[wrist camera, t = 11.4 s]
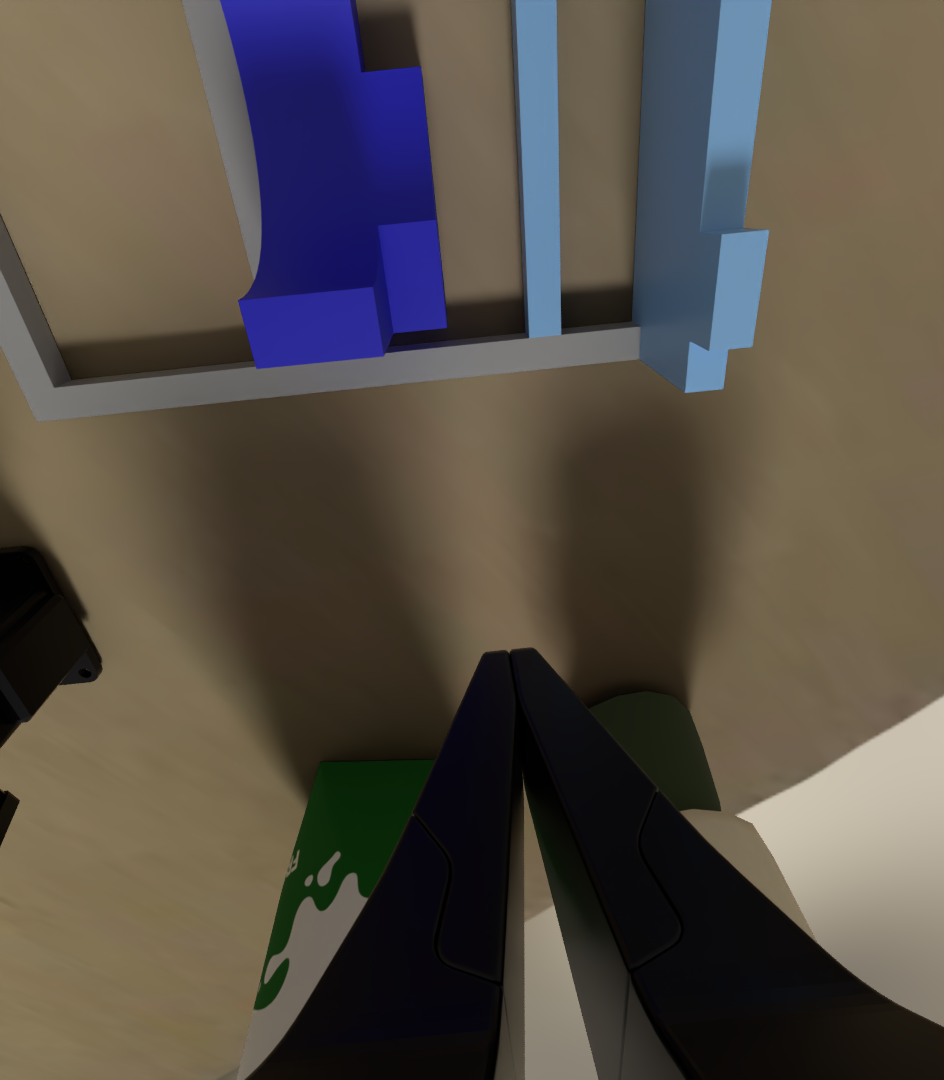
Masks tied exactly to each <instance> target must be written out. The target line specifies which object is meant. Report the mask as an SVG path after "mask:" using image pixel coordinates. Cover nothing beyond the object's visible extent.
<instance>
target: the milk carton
mask: <svg viewBox="0 0 944 1080" xmlns="http://www.w3.org/2000/svg"><path fill="white" fill-rule="evenodd" d="M434 761H435V759H430V760H389V761H347V762H320V764H319V767H318V771H317V774H316V778H315V781H314V784H313V788H312V791H311V794H310V798H309V801H308V804H307V808H306V811H305V814H304V818H303V821H302V824H301V828H300V831H299V834H298V837H297V841H296V844H295V847H294V851H293V854H292V857H291V861H290V864H289V867H288V871H287V874H286V877H285V881H284V885H283V888H282V892H281V896H280V900H279V904H278V908H277V913H276V917H275V921H274V925H273V929H272V934H271V938H270V942H269V946H268V950H267V955H266V959H265V963H264V967H263V971H262V976H261V980H260V984H259V988H258V992H257V997H256V1001H255V1005H254V1009H253V1013H252V1018H251V1022H250V1026H249V1030H248V1034H247V1039H246V1043H245V1047H244V1051H243V1055H242V1060H241V1064H240V1068H239V1072H238V1076H237V1080H244V1079H246V1078H247V1077H248V1076H249V1075H250V1074H251V1073H252V1072H253V1071H254V1070H255V1069H256V1068H257V1067H258V1066H259V1065H260V1064H261V1063H262V1062H263V1061H264V1059H265V1058H266V1057H267V1056H268V1055H269V1054H270V1053H271V1052H272V1050H273V1049H274V1048H275V1047H276V1045H277V1044H278V1043H279V1042H280V1040H281V1039H282V1038H283V1036H284V1035H285V1033H286V1032H287V1031H288V1029H289V1028H290V1026H291V1025H292V1024H293V1022H294V1021H295V1019H296V1017H297V1016H298V1014H299V1013H300V1011H301V1009H302V1008H303V1006H304V1005H305V1003H306V1001H307V1000H308V998H309V996H310V995H311V993H312V991H313V990H314V988H315V987H316V985H317V983H318V982H319V980H320V978H321V977H322V975H323V973H324V972H325V970H326V968H327V967H328V965H329V963H330V962H331V960H332V958H333V957H334V955H335V953H336V952H337V950H338V948H339V947H340V945H341V943H342V942H343V940H344V938H345V937H346V935H347V933H348V932H349V930H350V928H351V927H352V925H353V923H354V922H355V920H356V918H357V917H358V915H359V914H360V912H361V910H362V908H363V907H364V905H365V903H366V901H367V900H368V898H369V896H370V894H371V893H372V891H373V889H374V887H375V886H376V884H377V882H378V880H379V878H380V877H381V875H382V873H383V871H384V869H385V867H386V865H387V863H388V861H389V859H390V857H391V855H392V853H393V851H394V849H395V847H396V845H397V843H398V841H399V839H400V836H401V834H402V832H403V830H404V827H405V825H406V823H407V821H408V819H409V817H410V816H412V810H413V808H414V806H415V804H416V801H417V799H418V797H419V795H420V792H421V790H422V788H423V786H424V784H425V781H426V779H427V777H428V775H429V772H430V770H431V768H432V766H433V764H434Z"/></svg>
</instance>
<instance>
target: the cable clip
mask: <svg viewBox="0 0 944 1080" xmlns="http://www.w3.org/2000/svg"><path fill="white" fill-rule="evenodd" d="M220 3H221V6H222V9H223V13H224V16H225V20H226V24H227V27H228V31H229V35H230V38H231V42H232V46H233V50H234V54H235V58H236V62H237V66H238V70H239V74H240V78H241V83H242V87H243V92H244V96H245V101H246V106H247V111H248V116H249V121H250V126H251V132H252V137H253V143H254V150H255V156H256V163H257V171H258V179H259V189H260V200H261V231H262V234H261V251H260V259H259V265H258V270H257V274H256V277H255V280H254V283H253V285H252V287H251V288H250V290H249V292H248V293H247V294H246V295H245V296H244V297H243V298H241V299H240V300H238V302H239V306H240V310H241V314H242V317H243V321H244V325H245V328H246V332H247V336H248V340H249V343H250V347H251V351H252V354H253V358H254V362H255V366H256V369H263V368H273V367H283V366H293V365H303V364H313V363H323V362H333V361H344V360H354V359H364V358H374V357H384V355H385V353H386V350H387V348H388V345H389V343H390V341H391V338H392V336H393V334H394V333H402V332H412V331H422V330H432V329H442V328H447V311H446V302H445V292H444V282H443V272H442V263H441V253H440V243H439V234H438V224H437V214H436V205H435V195H434V185H433V175H432V166H431V156H430V146H429V137H428V127H427V117H426V107H425V98H424V88H423V78H422V72H421V66H420V67H410V68H400V69H391V70H381V71H371V72H366V71H365V64H364V57H363V50H362V43H361V36H360V29H359V22H358V15H357V8H356V0H220Z"/></svg>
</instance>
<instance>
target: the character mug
mask: <svg viewBox="0 0 944 1080" xmlns="http://www.w3.org/2000/svg"><path fill="white" fill-rule="evenodd" d="M589 710H590V711H591V712H592V713H593V714H594V716H595V717H596V718H597V719H598V720H599V721H600V722H601V723H602V725H603V726H604V727H605V728H606V729H607V730H608V731H609V733H610V734H611V735H612V736H613V737H614V738H615V739H616V740H617V742H618V743H619V744H620V745H621V746H622V747H623V748H624V749H625V751H626V752H627V753H628V754H629V755H630V756H631V757H632V758H633V760H634V761H635V762H636V763H637V764H638V765H639V766H640V767H641V769H642V770H643V771H644V772H645V773H646V774H647V775H648V777H649V778H650V779H651V780H652V781H653V782H654V783H655V784H656V786H657V787H658V791H662V792H663V793H664V794H665V795H666V797H667V798H668V799H669V800H670V801H671V802H672V803H673V804H674V806H675V807H676V808H677V809H678V810H679V811H680V812H681V813H682V815H683V816H684V817H685V818H686V819H687V820H688V821H689V822H690V823H691V824H692V825H693V826H694V827H695V828H696V829H697V830H698V832H699V833H700V834H701V835H702V836H703V837H704V838H705V839H706V840H707V841H708V842H709V843H710V844H711V845H712V846H713V847H714V848H715V849H716V850H717V851H718V852H719V853H720V854H722V855H723V856H724V857H725V858H726V859H727V860H728V861H729V862H730V863H731V864H732V865H733V866H734V867H735V868H736V869H737V870H738V871H739V872H740V873H741V874H743V875H744V876H745V877H746V878H747V879H748V880H749V881H750V882H751V883H752V884H753V885H755V886H756V887H757V888H758V889H759V890H760V891H761V892H762V893H763V894H764V895H765V896H767V897H768V898H769V899H770V900H771V901H772V902H773V903H774V904H775V905H776V906H777V907H779V908H780V909H781V910H782V911H783V912H784V913H785V914H786V915H787V916H788V917H789V918H791V919H792V920H793V921H794V922H795V923H796V924H797V925H798V926H799V927H800V928H801V929H803V930H804V931H805V932H806V933H807V934H808V935H809V936H810V937H811V938H812V939H813V940H815V941H816V939H815V937H814V935H813V933H812V931H811V929H810V928H809V925H808V924H807V921H806V920H805V918H804V916H803V914H802V912H801V910H800V908H799V906H798V904H797V902H796V900H795V898H794V896H793V894H792V892H791V890H790V888H789V887H788V885H787V883H786V881H785V879H784V877H783V875H782V873H781V871H780V869H779V867H778V865H777V863H776V861H775V859H774V857H773V856H772V854H771V852H770V851H769V849H768V848H767V846H766V845H765V843H764V841H763V840H762V838H761V837H760V835H759V834H758V832H757V830H756V829H755V827H754V826H753V824H752V823H749V822H747V821H745V820H743V819H741V818H739V817H737V816H734V815H732V814H730V813H728V812H721V807H720V801H719V798H718V795H717V791H716V788H715V785H714V782H713V778H712V775H711V772H710V769H709V765H708V762H707V759H706V756H705V752H704V749H703V746H702V743H701V740H700V738H699V735H698V732H697V730H696V727H695V724H694V722H693V719H692V716H691V714H690V711H689V710H688V709H686V708H685V707H684V706H683V705H682V704H681V703H680V702H679V701H678V700H677V699H676V698H674V697H673V696H670V695H665V694H660V693H655V692H650V691H644V692H638V693H632V694H626V695H620V696H616V697H614V698H611V699H609V700H607V701H605V702H602V703H600V704H598V705H596V706H593V707H591V708H589ZM816 942H817V941H816Z"/></svg>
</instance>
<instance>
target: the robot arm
mask: <svg viewBox="0 0 944 1080" xmlns="http://www.w3.org/2000/svg"><path fill="white" fill-rule="evenodd" d="M22 557H23V558H25V559H27V560H28V561H29V562H30V563H28V562H26V561H25V560H24V559H23V558H22ZM86 669H87V670H86ZM88 670H89V671H88ZM101 672H102V665H101V664H100V662H99V660H98V658H97V656H96V654H95V652H94V651H93V649H92V647H91V645H90V643H89V641H88V639H87V638H86V636H85V634H84V632H83V630H82V628H81V627H80V625H79V623H78V621H77V619H76V617H75V615H74V614H73V612H72V610H71V608H70V606H69V604H68V602H67V601H66V599H65V597H64V595H63V593H62V591H61V590H60V588H59V586H58V584H57V582H56V580H55V578H54V577H53V575H52V573H51V571H50V569H49V567H48V566H47V564H46V562H45V560H44V558H43V556H42V555H41V554H40V552H38V551H37V550H36V549H34V548H31V547H28V546H20V547H11V548H1V549H0V748H1V747H2V746H3V745H4V744H5V742H6V741H7V740H8V739H9V737H10V736H11V735H12V734H13V733H14V731H15V730H16V729H17V728H18V727H19V725H20V724H21V723H23V722H28V721H29V720H31V718H32V717H33V716H34V715H35V714H36V712H37V711H38V710H39V709H40V707H41V706H42V705H43V704H44V702H45V701H46V700H47V699H48V698H49V696H50V695H51V694H52V693H53V691H54V690H55V689H56V688H57V686H58V685H67V684H76V683H86V682H92V681H95V680H96V679H97V678H98V676H99V675H100V674H101ZM522 774H523V776H522ZM523 780H524V786H525V791H526V795H527V800H528V804H529V808H530V812H531V816H532V819H533V823H534V827H535V831H536V835H537V839H538V843H539V847H540V851H541V855H542V859H543V863H544V867H545V871H546V874H547V878H548V882H549V886H550V890H551V894H552V898H553V902H554V906H555V910H556V914H557V918H558V921H559V926H560V929H561V933H562V937H563V941H564V945H565V949H566V953H567V957H568V961H569V965H570V969H571V972H572V977H573V981H574V984H575V988H576V992H577V996H578V1000H579V1004H580V1008H581V1012H582V1016H583V1019H584V1023H585V1028H586V1032H587V1036H588V1040H589V1043H590V1047H591V1051H592V1055H593V1059H594V1063H595V1067H596V1071H597V1075H598V1079H599V1080H944V1027H943V1026H941V1025H939V1024H937V1023H935V1022H932V1021H930V1020H928V1019H926V1018H924V1017H922V1016H920V1015H918V1014H916V1013H914V1012H912V1011H910V1010H908V1009H906V1008H904V1007H902V1006H900V1005H898V1004H897V1003H895V1002H893V1001H892V1000H890V999H888V998H887V997H885V996H883V995H882V994H880V993H879V992H877V991H876V990H874V989H873V988H871V987H870V986H869V985H867V984H866V983H864V982H863V981H861V980H860V979H859V978H858V977H856V976H855V975H854V974H852V973H851V972H850V971H848V970H847V969H846V968H845V967H843V966H842V965H841V964H840V963H839V962H838V961H836V959H834V958H833V957H832V956H831V955H830V954H829V953H828V952H826V951H825V950H824V949H823V948H822V947H821V946H820V945H819V944H818V943H817V942H816V941H815V940H813V939H812V938H811V937H810V936H809V935H808V934H807V933H806V932H805V931H804V930H803V929H801V928H800V927H799V926H798V925H797V924H796V923H795V922H794V921H793V920H792V919H791V918H789V917H788V916H787V915H786V914H785V913H784V912H783V911H782V910H781V909H780V908H779V907H777V906H776V905H775V904H774V903H773V902H772V901H771V900H770V899H769V898H768V897H767V896H765V895H764V894H763V893H762V892H761V891H760V890H759V889H758V888H757V887H756V886H755V885H753V884H752V883H751V882H750V881H749V880H748V879H747V878H746V877H745V876H744V875H743V874H741V873H740V872H739V871H738V870H737V869H736V868H735V867H734V866H733V865H732V864H731V863H730V862H729V861H728V860H727V859H726V858H725V857H724V856H723V855H722V854H720V853H719V852H718V851H717V850H716V849H715V848H714V847H713V846H712V845H711V844H710V843H709V842H708V841H707V840H706V839H705V838H704V837H703V836H702V835H701V834H700V833H699V832H698V830H697V829H696V828H695V827H694V826H693V825H692V824H691V823H690V822H689V821H688V820H687V819H686V818H685V817H684V816H683V815H682V813H681V812H680V811H679V810H678V809H677V808H676V807H675V806H674V804H673V803H672V802H671V801H670V800H669V799H668V798H667V797H666V795H665V794H664V793H663V792H662V791H658V787H657V786H656V784H655V783H654V782H653V781H652V780H651V779H650V778H649V777H648V775H647V774H646V773H645V772H644V771H643V770H642V769H641V767H640V766H639V765H638V764H637V763H636V762H635V761H634V760H633V758H632V757H631V756H630V755H629V754H628V753H627V752H626V751H625V749H624V748H623V747H622V746H621V745H620V744H619V743H618V742H617V740H616V739H615V738H614V737H613V736H612V735H611V734H610V733H609V731H608V730H607V729H606V728H605V727H604V726H603V725H602V723H601V722H600V721H599V720H598V719H597V718H596V717H595V716H594V714H593V713H592V712H591V711H590V710H589V709H588V708H587V707H586V705H585V704H584V703H583V702H582V701H581V700H580V699H579V698H578V696H577V695H576V694H575V693H574V692H573V691H572V690H571V689H570V687H569V686H568V685H567V684H566V683H565V682H564V681H563V679H562V678H561V677H560V676H559V675H558V674H557V673H556V672H555V670H554V669H553V668H552V667H551V666H550V665H549V664H548V663H547V661H546V660H545V659H544V658H543V657H542V656H541V655H540V654H539V652H538V651H537V650H536V649H534V648H531V647H530V648H520V649H512V650H511V651H510V653H508V651H506V650H500V651H490V652H485V653H484V654H483V655H482V657H481V659H480V661H479V664H478V666H477V668H476V670H475V672H474V675H473V677H472V679H471V681H470V684H469V686H468V688H467V690H466V692H465V695H464V697H463V699H462V701H461V704H460V706H459V708H458V710H457V712H456V715H455V717H454V719H453V721H452V724H451V726H450V728H449V730H448V732H447V735H446V737H445V739H444V741H443V744H442V746H441V748H440V750H439V752H438V755H437V757H436V759H435V761H434V764H433V766H432V768H431V770H430V772H429V775H428V777H427V779H426V781H425V784H424V786H423V788H422V790H421V792H420V795H419V797H418V799H417V801H416V804H415V806H414V808H413V810H412V816H410V817H409V819H408V821H407V823H406V825H405V827H404V830H403V832H402V834H401V836H400V839H399V841H398V843H397V845H396V847H395V849H394V851H393V853H392V855H391V857H390V859H389V861H388V863H387V865H386V867H385V869H384V871H383V873H382V875H381V877H380V878H379V880H378V882H377V884H376V886H375V887H374V889H373V891H372V893H371V894H370V896H369V898H368V900H367V901H366V903H365V905H364V907H363V908H362V910H361V912H360V914H359V915H358V917H357V918H356V920H355V922H354V923H353V925H352V927H351V928H350V930H349V932H348V933H347V935H346V937H345V938H344V940H343V942H342V943H341V945H340V947H339V948H338V950H337V952H336V953H335V955H334V957H333V958H332V960H331V962H330V963H329V965H328V967H327V968H326V970H325V972H324V973H323V975H322V977H321V978H320V980H319V982H318V983H317V985H316V987H315V988H314V990H313V991H312V993H311V995H310V996H309V998H308V1000H307V1001H306V1003H305V1005H304V1006H303V1008H302V1009H301V1011H300V1013H299V1014H298V1016H297V1017H296V1019H295V1021H294V1022H293V1024H292V1025H291V1026H290V1028H289V1029H288V1031H287V1032H286V1033H285V1035H284V1036H283V1038H282V1039H281V1040H280V1042H279V1043H278V1044H277V1045H276V1047H275V1048H274V1049H273V1050H272V1052H271V1053H270V1054H269V1055H268V1056H267V1057H266V1058H265V1059H264V1061H263V1062H262V1063H261V1064H260V1065H259V1066H258V1067H257V1068H256V1069H255V1070H254V1071H253V1072H252V1073H251V1074H250V1075H249V1076H248V1077H247V1078H246V1079H244V1080H525V1055H524V1054H525V1042H524V1041H525V1040H524V1038H525V1037H524V1036H525V1031H524V1030H525V1029H524V1026H525V1024H524V793H523ZM19 801H20V800H19V799H18V798H16V797H15V796H14V795H13V794H11V793H10V792H9V791H4V792H3V791H2V790H1V789H0V846H1V844H2V841H3V839H4V837H5V834H6V832H7V830H8V827H9V825H10V823H11V820H12V818H13V816H14V813H15V811H16V809H17V806H18V804H19Z"/></svg>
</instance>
